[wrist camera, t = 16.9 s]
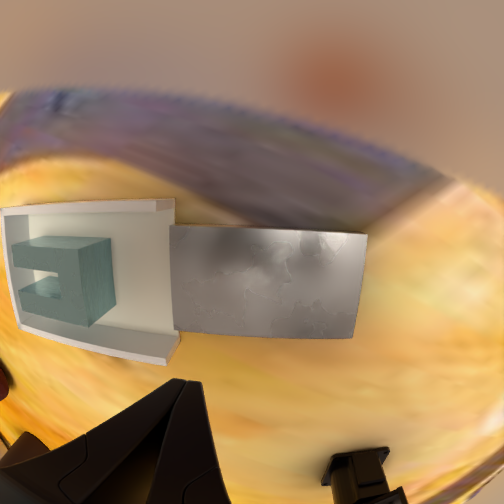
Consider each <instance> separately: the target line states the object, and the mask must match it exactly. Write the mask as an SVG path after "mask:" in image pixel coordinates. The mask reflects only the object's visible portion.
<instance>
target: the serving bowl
mask: <svg viewBox="0 0 504 504" xmlns="http://www.w3.org/2000/svg"><path fill="white" fill-rule="evenodd" d="M7 451H8V450H7V448H6V446H5V445H4V443H3V442H2V440H1V438H0V459H1V458H2V457H3V456H4V455H5V453H6V452H7Z"/></svg>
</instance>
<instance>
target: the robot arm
mask: <svg viewBox="0 0 504 504" xmlns="http://www.w3.org/2000/svg"><path fill="white" fill-rule="evenodd" d="M389 452H390V449H389V448H388V447H386V448H380V449H375V450H368V451H362V452H354V453H346V454H337V455H334V456H332V458H331V460H330V463H329V465H328V467H327V470H326V472H325V474H324V476H323V479H322V481H321V485H322V486H331V488H332V494H333V500H334V504H409V503H408V500H407V498H406V495H405V493H404V490H403V488H402V486H400V487H398V488H397V489H396V490H393V491H391V492H390V489H389V486H388V483H387V480H386V476H385V473H384V470H383V467H382V464H383V462H384V461H385V459H386V457H387V456H388V454H389ZM0 504H232V503H231V501H230V499H229V496H228V493H227V490H226V487H225V484H224V481H223V477H222V474H221V470H220V468H219V462H218V458H217V454H216V449H215V445H214V441H213V436H212V431H211V427H210V422H209V417H208V412H207V407H206V402H205V397H204V391H203V386H202V383H201V382H199V381H191V380H189V381H186V380H184V379H177V378H173V379H171V380H169V381H168V382H166V383H165V384H163V385H162V386H160V387H159V388H157V389H156V390H154V391H153V392H151V393H150V394H148V395H147V396H145V397H143V398H142V399H140V400H139V401H137V402H136V403H134V404H133V405H131V406H129V407H128V408H126V409H125V410H123V411H121V412H120V413H118V414H117V415H115V416H113V417H112V418H110V419H108V420H107V421H105V422H103V423H102V424H100V425H98V426H97V427H95V428H93V429H92V430H90V431H88V432H87V433H86V435H85V434H83V435H81V436H79V437H78V438H76V439H74V440H72V441H70V442H68V443H66V444H64V445H62V446H61V447H58V448H56V449H54V450H51V451H49V452H47V453H44V454H42V455H39V456H37V457H34V458H31V459H28V460H25V461H23V462H20V463H17V464H14V465H11V466H7V467H2V468H0Z"/></svg>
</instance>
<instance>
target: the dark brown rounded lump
mask: <svg viewBox="0 0 504 504" xmlns="http://www.w3.org/2000/svg"><path fill="white" fill-rule="evenodd" d="M8 393H9V387H8V382H7V379H6V377H5V374H4V373H3V371H2V369H1V368H0V401H1V400H3V399H4V398H6V397H7V395H8Z"/></svg>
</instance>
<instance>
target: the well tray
mask: <svg viewBox="0 0 504 504" xmlns="http://www.w3.org/2000/svg"><path fill="white" fill-rule="evenodd" d="M0 216H1V233H2V244H3V253H4V261H5V268H6V274H7V280H8V285H9V291H10V296H11V300H12V305H13V309H14V313H15V317H16V321H17V325H18V328H19V329H21V330H23V331H26V332H29V333H32V334H35V335H38V336H41V337H44V338H47V339H50V340H54V341H57V342H60V343H64V344H67V345H71V346H74V347H78V348H82V349H85V350H89V351H93V352H97V353H102V354H106V355H110V356H115V357H119V358H124V359H129V360H134V361H139V362H145V363H150V364H156V365H162V366H167V365H168V363H169V361H170V359H171V357H172V356H173V354H174V352H175V350H176V348H177V347H178V345H179V343H180V332H179V331H178V330H174V326H173V313H172V297H171V278H170V249H169V225H172V224H175V199H116V200H90V201H71V202H55V203H41V204H29V205H21V206H13V207H7V208H0ZM41 236H75V237H103V238H111V252H112V266H113V278H114V287H115V296H116V304H117V305H116V306H114V307H113V308H112V309H111V310H109V311H108V312H107V313H106V314H104V315H103V316H102V317H101V318H100V319H98V320H97V321H96V322H95V323H93V324H92V325H91V326H90V327H89V328H88V327H84V326H79V325H75V324H71V323H67V322H63V321H59V320H55V319H51V318H47V317H43V316H40V315H36V314H33V313H29V312H26V311H22V307H21V303H20V298H19V293H18V290H20V289H22V288H24V287H26V286H28V285H30V284H32V283H35V282H37V281H39V280H41V279H43V278H45V277H48V276H54V277H58V273H54V272H47V271H39V270H33V269H26V268H19V267H14V262H13V255H12V245H13V244H16V243H19V242H23V241H26V240H30V239H34V238H37V237H41Z"/></svg>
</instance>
